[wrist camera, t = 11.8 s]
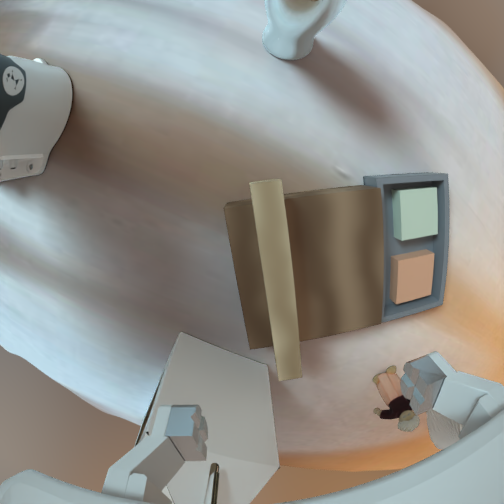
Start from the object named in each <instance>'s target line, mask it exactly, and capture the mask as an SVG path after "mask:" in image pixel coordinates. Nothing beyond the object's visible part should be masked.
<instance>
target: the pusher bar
mask: <svg viewBox="0 0 504 504" xmlns="http://www.w3.org/2000/svg"><path fill="white" fill-rule="evenodd" d="M249 185H250V192H251V198H252V205H253V211H254V218H255V224H256V231H257V238H258V244H259V251H260V258H261V264H262V271H263V278H264V285H265V292H266V298H267V305H268V312H269V319H270V326H271V333H272V340H273V347H274V354H275V361H276V367H277V373H278V379H279V381H284V380H290V379H295V378H301V377H302V369H301V355H300V342H299V330H298V319H297V308H296V298H295V288H294V278H293V269H292V259H291V251H290V242H289V234H288V226H287V218H286V210H285V202H284V195H283V188H282V181H281V180H279V179H271V180H263V181H257V182H250V183H249Z"/></svg>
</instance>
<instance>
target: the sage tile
mask: <svg viewBox="0 0 504 504" xmlns="http://www.w3.org/2000/svg"><path fill="white" fill-rule="evenodd" d="M391 191H392V205H393V226H394V237H395V238H397V239H399V240H401V241H403V240H408V239H414V238H419V237H425V236H430V235H435V234H438V204H437V187H431V186H421V187H409V188H398V189H391Z"/></svg>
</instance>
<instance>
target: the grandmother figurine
mask: <svg viewBox="0 0 504 504" xmlns="http://www.w3.org/2000/svg"><path fill="white" fill-rule="evenodd" d="M395 373H396V367H395V366H391V367H389V368H388V369H387V370H386V373H383V374H378V375H376V376H375V377H374V378H373V382H374V383H375V384H376V385H377V388H378V390H379V393H380V395H381V397H382V398H383V400H384V402H385V403H386V405H387V406H388V407H390V409H389V410H380V409H379V408H375V409H374V413H375V414H377V415H378V416H380V418H381V419H394V418H399V423H398V429H400V430H402V431H405V432H406V431H407V432H408V431H413V430H414V429H415V428H417V427H418V425H419V422H420V419H419V417H418V416H417V415H415V413H414V412H413V411H411V410H412V408H411V406H410V400H409V399H407V398H405V397H404V395H403V394H402V391H401V386H400V382H401V381H400V379H399V378H398V376H397V374H395Z"/></svg>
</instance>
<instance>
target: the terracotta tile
mask: <svg viewBox="0 0 504 504" xmlns="http://www.w3.org/2000/svg"><path fill="white" fill-rule="evenodd" d="M433 268H434V253H433V252H431V251H429V250H427V249H424V250H419V251H414V252H409V253H404V254H399V255H394V256H391V273H390V297H389V298H390V299H391V300H392V301H393V302H394V303H395V304H399V303H403V302H407V301H410V300H414V299H418V298H421V297H425V296H428V295H431V289H432V280H433Z"/></svg>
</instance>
